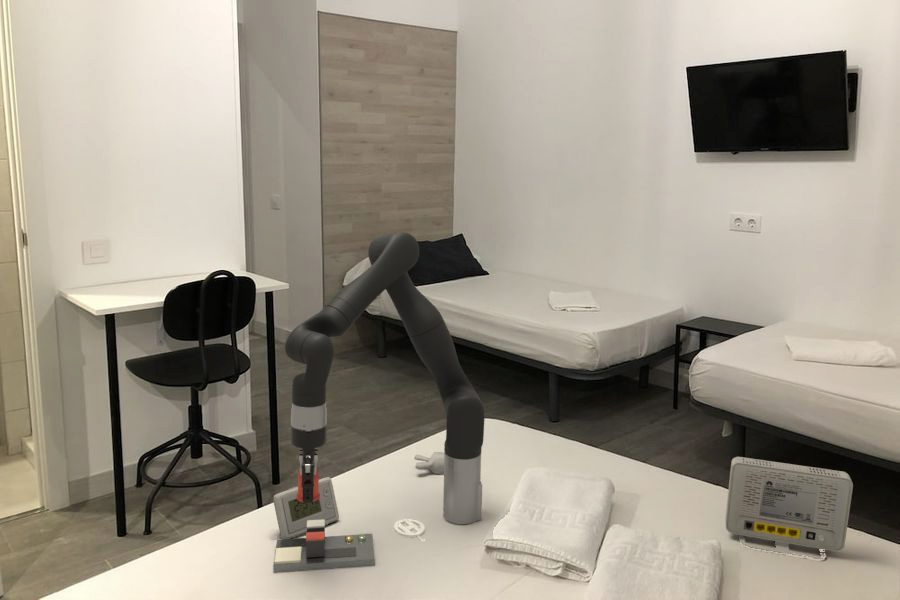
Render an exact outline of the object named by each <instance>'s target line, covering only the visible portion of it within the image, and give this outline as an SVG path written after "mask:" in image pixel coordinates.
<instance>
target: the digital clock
mask: <svg viewBox="0 0 900 600" xmlns="http://www.w3.org/2000/svg"><path fill="white" fill-rule="evenodd" d="M318 492H319V493H320V498H319V499H318V500H317V501H315V502H310V503H304V502H300V501H298V500H297V498H296V495H297V493H298V485H296V486H294V487H293V486H292V487H290V488H288V489H286V490H285V491H284V490H283V491H281V492H278V493H276V494H274V495H273V497H272V499H273V500H272V501H273V505H274V511H275V515H276V520H277V525H278V530H279V534H280V535H279V536H280V538H281V539H294V538H297V537H300V536H302V535H306V533H307V520H322V519H325V527H326V526H328V525H329V524H331V523H334V522H336V521H338V520H339V518H340V515H339V510H338V509H339V508H338V504H337V500H336V495H335V490H334V485H333V481H332V477H330V476H327V477H323V478H319V485H318Z"/></svg>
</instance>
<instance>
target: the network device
mask: <svg viewBox="0 0 900 600" xmlns="http://www.w3.org/2000/svg"><path fill="white" fill-rule="evenodd" d="M853 486H854V484H853V481H852V478H851V476H850V475H849V474H848V473H847V472H846V471H840V470H833V469H828V468H821V467H813V466H807V465H798V464H793V463H792V464H791V463H785V462H778V461H771V460H765V459H755V458H750V457H743V456H735V457H733V458H732V459H731V464H730V471H729V482H728V492H727V500H726V502H727V503H726V509H725V528H726V530H727V531H728V533H730V534H733V535H738V540H740V542H741V543H742V544H743V545H745V546H748V547H750V548H755V549H761V550H766V551H773V552H778V553H785V554H786V553H787V554H792V555H798V554H799V555H798V556H802V555H806V556H808V557H812V558H814V559H823V558H821V557H820V556H815V555H810V554H809V555H808V554H804V553H797V552H794V551H791V550H790V544H791V545H798V546H803V547H808V548H813V549H818V548H819V549H825V551H832V552H842V551H843V550H844V548H845V544H846V537H847V530H848V522H849V516H850V509H851V502H852V495H853V488H854V487H853ZM746 537H750V538H757V539H763V540H768V541H773V542H774V541H775V543H774V548H770V547H764V546H759V545H758V546H757V545H751V544H749V543H747V542H746ZM740 542H739V543H740ZM775 546H776V548H775ZM823 551H824V550H823ZM793 553H796V554H793ZM820 553H822V554H821V556H823V557H824V556H826V555H824V553H826V554H827V552H820ZM820 553H819V554H820ZM806 556H804V557H806Z"/></svg>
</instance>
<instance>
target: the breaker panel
mask: <svg viewBox="0 0 900 600" xmlns="http://www.w3.org/2000/svg"><path fill="white" fill-rule="evenodd" d="M373 537H374V536H373V533H361V534H348V535H347V534H346V535H331V536H325V556H323V557H309V558H306V537H300V538H297V537H296V538H290V539H282V538H281V539H276V544H275V552H274V555H275V554H276V548H287V547H302V550H301V563H287V564H274V563H273V564H272V566H273V569H272V570H273V573H283V572H287V573H288V572H299V571H313V570H314V571H315V570H325V569H340V568H353V567H354V568H355V567H368V566H375V565H376V562H375V561H376V559H375V548H374V539H373ZM274 561H275V556H274V558H273V562H274Z"/></svg>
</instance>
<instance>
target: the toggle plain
mask: <svg viewBox="0 0 900 600" xmlns="http://www.w3.org/2000/svg"><path fill="white" fill-rule="evenodd" d="M325 528H326V526H325V519H322V520H307V533H308V532H323V531H324V539H325V537H326V529H325Z"/></svg>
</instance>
